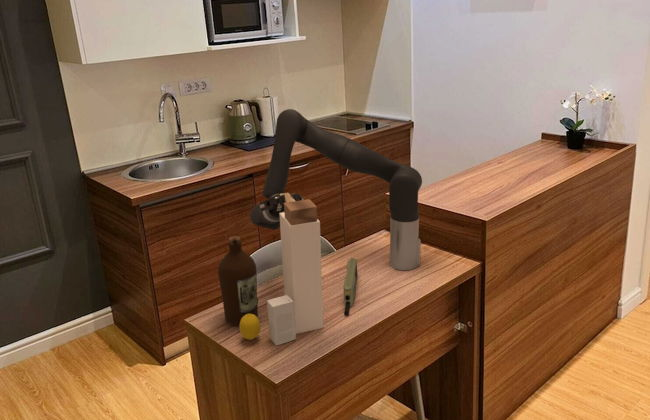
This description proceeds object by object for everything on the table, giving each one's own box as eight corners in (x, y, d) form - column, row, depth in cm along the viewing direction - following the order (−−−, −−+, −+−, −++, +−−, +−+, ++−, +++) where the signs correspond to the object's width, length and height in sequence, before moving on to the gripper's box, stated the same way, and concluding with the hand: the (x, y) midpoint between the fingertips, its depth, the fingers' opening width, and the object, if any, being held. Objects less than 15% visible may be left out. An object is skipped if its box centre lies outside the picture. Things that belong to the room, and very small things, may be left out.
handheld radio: (359, 276, 188) (352, 317, 165) (348, 276, 189) (341, 317, 166) (358, 257, 186) (351, 297, 163) (347, 257, 187) (339, 297, 164)
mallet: (296, 198, 165) (295, 184, 164) (317, 221, 149) (316, 206, 148) (272, 201, 163) (271, 188, 162) (291, 225, 147) (290, 210, 145)
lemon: (244, 347, 153) (241, 321, 150) (238, 336, 158) (235, 311, 155) (264, 342, 155) (262, 316, 152) (257, 331, 160) (255, 306, 157)
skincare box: (289, 332, 159) (287, 293, 155) (296, 339, 156) (294, 301, 151) (269, 338, 156) (266, 299, 152) (275, 346, 153) (272, 307, 148)
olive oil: (215, 318, 166) (206, 239, 157) (243, 303, 174) (236, 227, 165) (240, 331, 160) (232, 250, 151) (267, 315, 167) (262, 236, 158)
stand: (311, 310, 169) (307, 208, 158) (323, 327, 160) (319, 221, 149) (285, 315, 167) (279, 212, 155) (295, 333, 158) (290, 226, 146)
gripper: (251, 199, 173) (262, 187, 157) (296, 193, 178) (310, 180, 161) (256, 223, 173) (267, 214, 156) (300, 216, 177) (315, 206, 160)
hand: (289, 197), depth 159 cm, fingers closed on mallet, 2 cm apart
